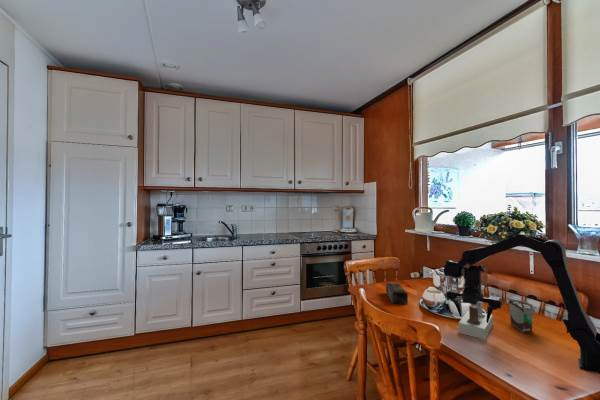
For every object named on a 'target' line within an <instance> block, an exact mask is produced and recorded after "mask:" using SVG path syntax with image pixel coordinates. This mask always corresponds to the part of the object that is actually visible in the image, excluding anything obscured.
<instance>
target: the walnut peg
mask: <svg viewBox="0 0 600 400" xmlns="http://www.w3.org/2000/svg"><path fill="white" fill-rule="evenodd" d="M468 308H469V309H468V310H469V318H470V323H471V324H475V325H478V307H476V306H474V305H469V306H468Z"/></svg>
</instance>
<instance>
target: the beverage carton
mask: <svg viewBox="0 0 600 400" xmlns="http://www.w3.org/2000/svg"><path fill="white" fill-rule="evenodd" d="M385 290H386V292H387V293H386V292H385V293H386V295H387V294H388V295H387V297H388V296H389V297H388V299H389V300H390V302H391V303H392V304H393V305H408V300H409V299H408V298H409V296H408V292H407V290H405V289H404V288H403V286H401V284H400V283H391V282H388V283H386V286H385Z"/></svg>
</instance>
